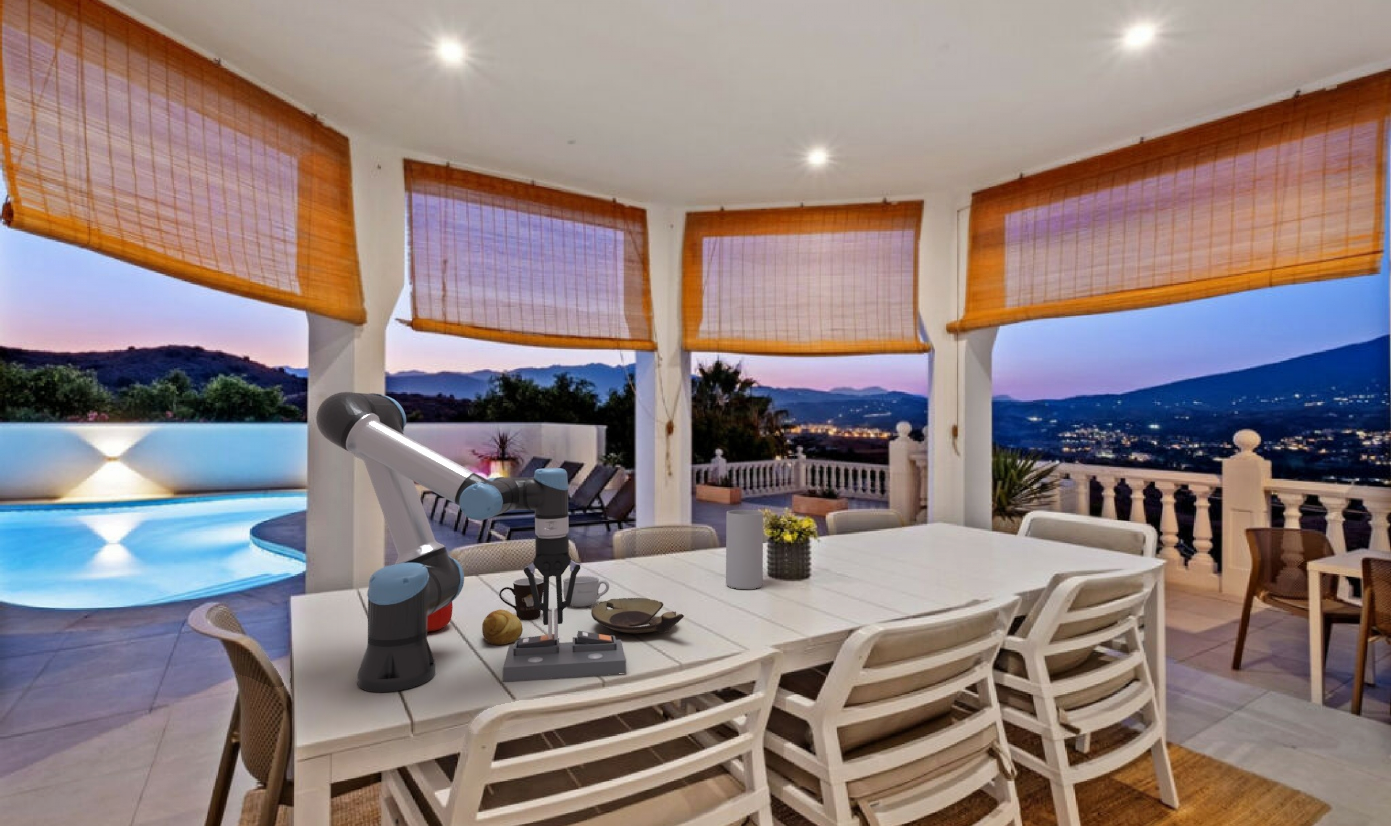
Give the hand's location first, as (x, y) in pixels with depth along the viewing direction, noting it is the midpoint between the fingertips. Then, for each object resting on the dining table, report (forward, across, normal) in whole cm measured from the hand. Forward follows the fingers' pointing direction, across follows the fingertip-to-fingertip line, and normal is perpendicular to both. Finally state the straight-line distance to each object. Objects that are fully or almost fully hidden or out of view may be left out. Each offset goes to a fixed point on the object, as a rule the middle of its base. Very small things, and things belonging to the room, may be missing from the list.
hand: (553, 638), depth 150 cm
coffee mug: (+5, -9, +37) cm, 39 cm away
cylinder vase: (+7, +62, +62) cm, 88 cm away
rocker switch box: (+6, +3, -3) cm, 7 cm away
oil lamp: (+6, +21, +20) cm, 30 cm away
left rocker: (+1, -4, 0) cm, 4 cm away
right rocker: (+1, +9, 0) cm, 9 cm away
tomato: (+5, -34, +30) cm, 45 cm away
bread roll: (+5, -13, +19) cm, 24 cm away
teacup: (+6, +8, +47) cm, 48 cm away
